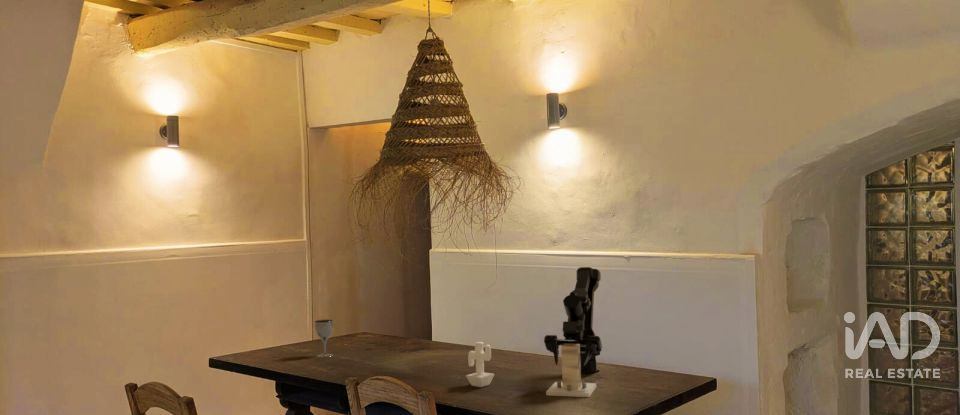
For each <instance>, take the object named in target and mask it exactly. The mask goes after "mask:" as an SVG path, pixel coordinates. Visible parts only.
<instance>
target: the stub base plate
mask: <svg viewBox="0 0 960 415" xmlns="http://www.w3.org/2000/svg"><path fill="white" fill-rule="evenodd" d="M596 388H597V383H595V382H594V383H593V382H592V383H591V382H581V387H580V388H579V389H578V390H577V389H571V385H567V389H563V385H562V381H555V382H554V383H553V384H551V386H550V387H549V388H548V389H547V390H546V391H545V394H546V396H555V397H578V398H590V396H592V393H593V392H594V391H595V390H596Z"/></svg>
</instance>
